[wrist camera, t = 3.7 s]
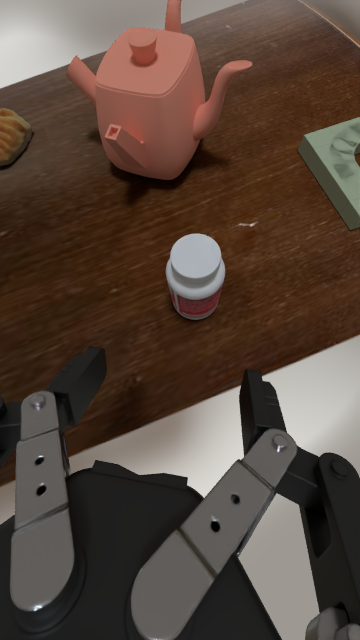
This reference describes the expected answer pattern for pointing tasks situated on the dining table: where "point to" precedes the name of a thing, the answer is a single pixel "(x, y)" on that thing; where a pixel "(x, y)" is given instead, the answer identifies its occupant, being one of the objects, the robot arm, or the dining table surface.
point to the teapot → (153, 98)
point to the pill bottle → (195, 275)
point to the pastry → (12, 136)
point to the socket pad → (336, 166)
